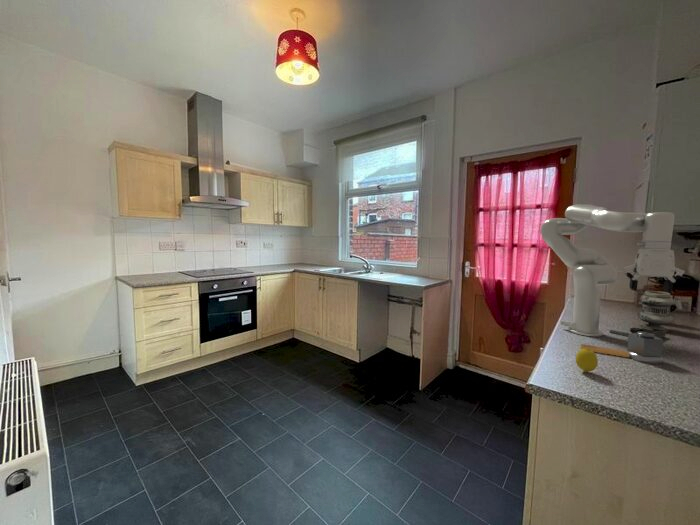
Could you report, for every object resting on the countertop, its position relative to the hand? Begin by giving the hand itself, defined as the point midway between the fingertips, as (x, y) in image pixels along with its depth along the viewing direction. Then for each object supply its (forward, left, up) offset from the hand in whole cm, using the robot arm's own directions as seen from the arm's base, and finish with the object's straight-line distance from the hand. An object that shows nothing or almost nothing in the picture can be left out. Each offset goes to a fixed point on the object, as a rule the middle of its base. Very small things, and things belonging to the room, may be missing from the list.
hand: (649, 291), depth 111 cm
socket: (-2, -9, -22) cm, 24 cm away
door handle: (+2, +23, -24) cm, 34 cm away
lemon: (-21, -34, -24) cm, 47 cm away
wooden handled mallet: (-9, -9, -24) cm, 27 cm away
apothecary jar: (+13, +44, -24) cm, 51 cm away
